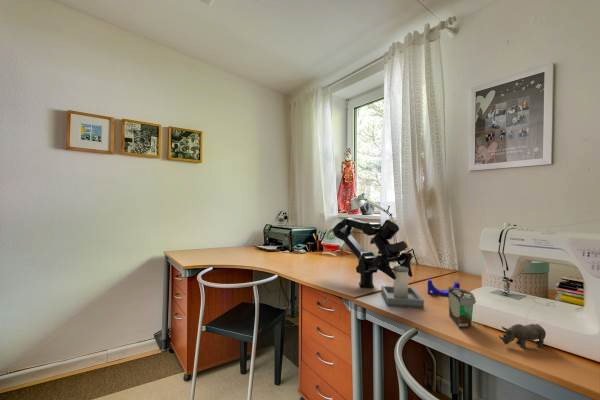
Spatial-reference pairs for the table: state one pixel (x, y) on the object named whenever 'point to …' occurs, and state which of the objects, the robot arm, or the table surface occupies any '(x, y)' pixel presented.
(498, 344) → the table surface
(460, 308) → the food container
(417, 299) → the charcoal tray
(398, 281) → the grey round glossy part
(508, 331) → the rhino figurine
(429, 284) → the cable clip
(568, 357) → the table surface
